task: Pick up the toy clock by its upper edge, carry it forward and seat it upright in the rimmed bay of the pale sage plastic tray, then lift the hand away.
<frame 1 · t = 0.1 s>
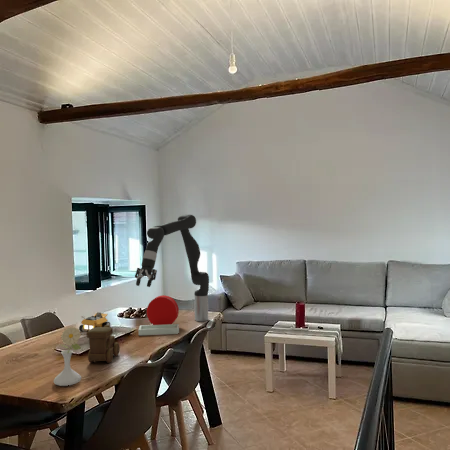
hand: (142, 286, 257), 31 cm above the table, tool tilted 20°, fingers open, 8 cm apart
toy clock: (163, 326, 288), on the table
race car: (95, 330, 282), on the table
wooden toy train: (104, 359, 223), on the table
flower in vase: (69, 384, 191), on the table
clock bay: (159, 332, 273), on the table
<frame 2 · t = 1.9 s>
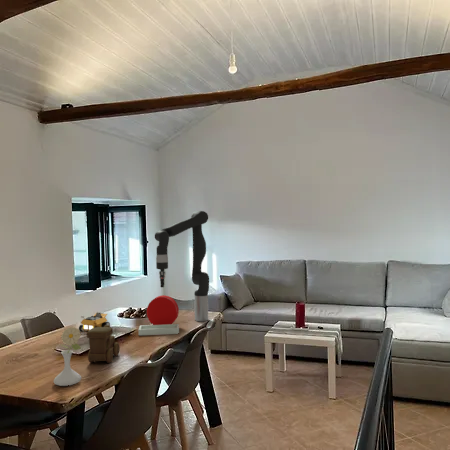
hand: (162, 286, 287), 26 cm above the table, tool pointing down, fingers open, 8 cm apart
nothing on the table moved.
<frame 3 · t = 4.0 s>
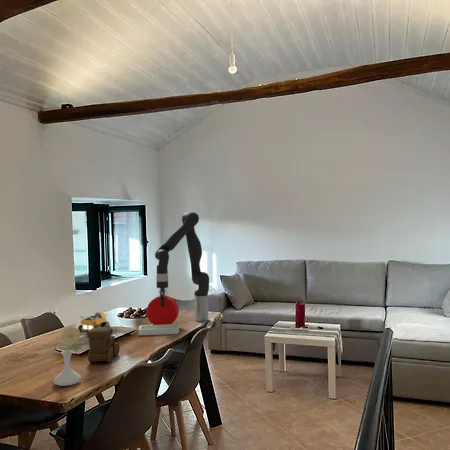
hand: (162, 305, 287), 14 cm above the table, tool pointing down, fingers closed on toy clock, 6 cm apart
toy clock: (163, 326, 288), on the table, touching gripper
everything else where it was.
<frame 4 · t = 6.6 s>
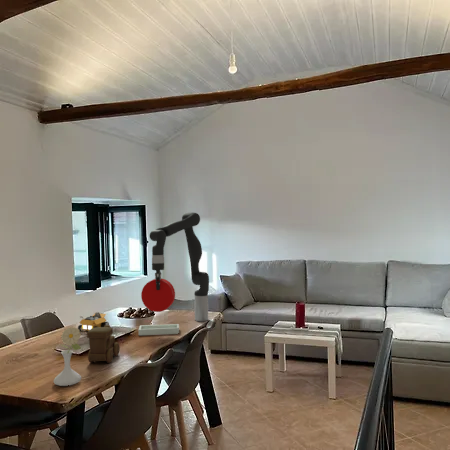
hand: (158, 288, 273), 27 cm above the table, tool pointing down, fingers closed on toy clock, 6 cm apart
toy clock: (158, 311, 273), point 13 cm above the table, touching gripper
everything else where it was.
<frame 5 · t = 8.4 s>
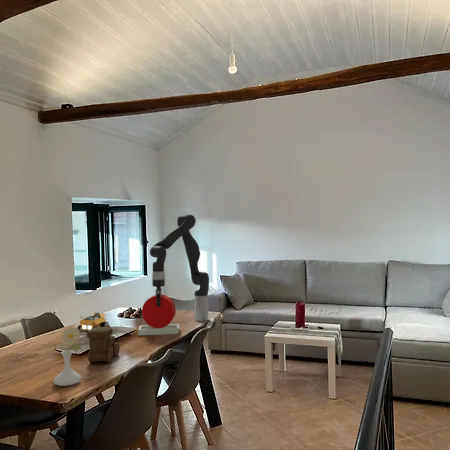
hand: (158, 305, 273), 17 cm above the table, tool pointing down, fingers closed on toy clock, 6 cm apart
toy clock: (159, 327, 273), point 3 cm above the table, touching gripper
when the fingers open (16 cm above the table, at t = 9.6 s): toy clock drops 1 cm, resting on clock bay.
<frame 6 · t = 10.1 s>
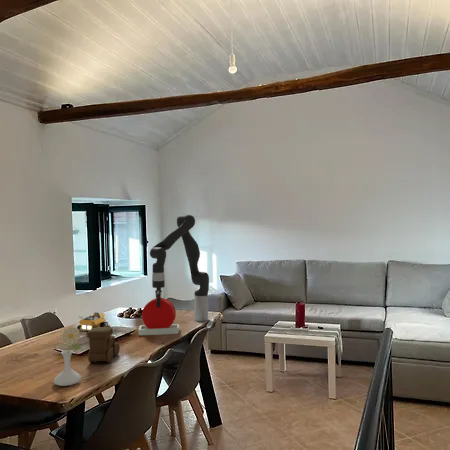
hand: (158, 305, 273), 17 cm above the table, tool pointing down, fingers open, 8 cm apart
toy clock: (159, 331, 273), point 1 cm above the table, touching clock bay
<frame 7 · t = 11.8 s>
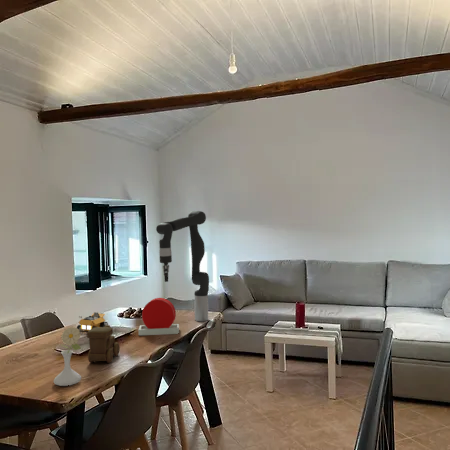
hand: (166, 280, 278), 31 cm above the table, tool pointing down, fingers open, 8 cm apart
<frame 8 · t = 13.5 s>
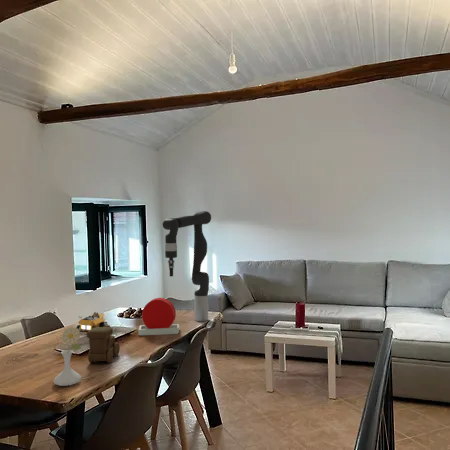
hand: (171, 275, 282), 34 cm above the table, tool pointing down, fingers open, 8 cm apart
at the end: toy clock 0.0 cm off-centre on the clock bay, point 0.8 cm above the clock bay's base; toy clock tilted 0°; the gripper is holding nothing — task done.
